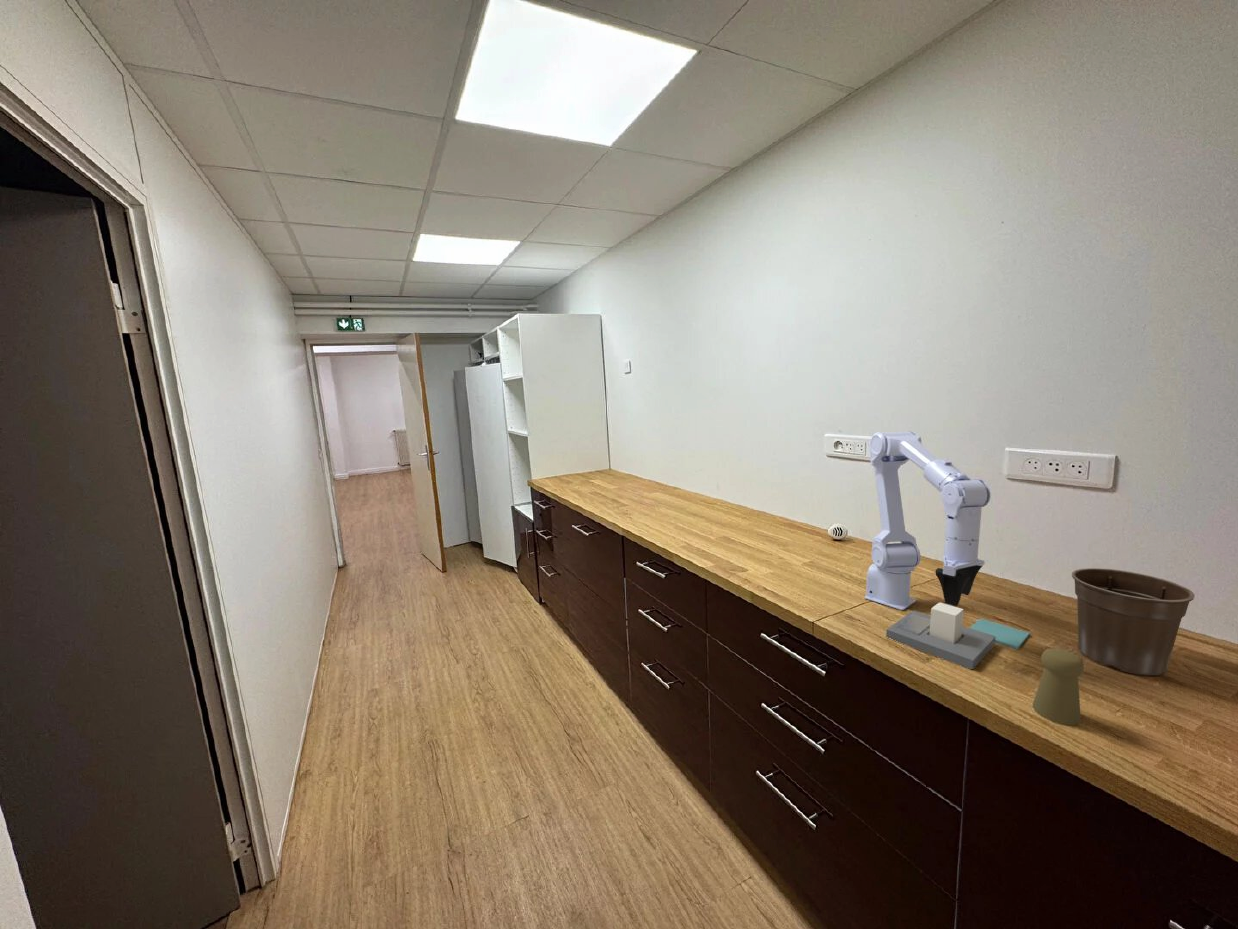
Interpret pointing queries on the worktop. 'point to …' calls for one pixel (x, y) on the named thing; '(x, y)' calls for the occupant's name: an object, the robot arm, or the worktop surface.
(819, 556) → the worktop surface
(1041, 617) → the worktop surface
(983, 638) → the grey slotted board
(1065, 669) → the cork
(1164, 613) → the plant pot
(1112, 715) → the worktop surface
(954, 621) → the plug
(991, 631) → the mat
